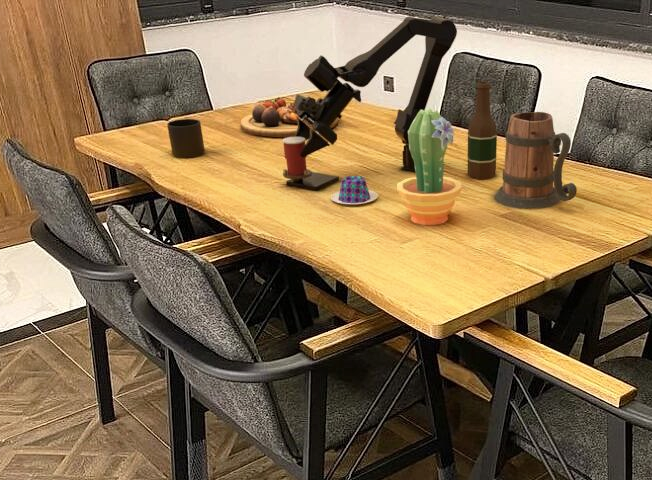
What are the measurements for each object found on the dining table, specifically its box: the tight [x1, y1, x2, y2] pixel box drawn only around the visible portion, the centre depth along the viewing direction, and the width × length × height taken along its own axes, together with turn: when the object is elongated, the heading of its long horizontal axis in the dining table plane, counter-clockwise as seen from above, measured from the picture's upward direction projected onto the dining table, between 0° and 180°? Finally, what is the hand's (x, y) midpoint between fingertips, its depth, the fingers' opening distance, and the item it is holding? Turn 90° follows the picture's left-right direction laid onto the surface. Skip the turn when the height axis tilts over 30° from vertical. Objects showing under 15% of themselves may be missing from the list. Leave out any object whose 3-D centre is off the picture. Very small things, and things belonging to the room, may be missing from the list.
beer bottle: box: [467, 81, 498, 180], centre depth 220 cm, size 8×8×24 cm
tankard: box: [493, 111, 578, 210], centre depth 203 cm, size 24×17×20 cm
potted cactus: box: [396, 108, 462, 226], centre depth 192 cm, size 15×15×25 cm
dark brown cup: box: [166, 118, 206, 159], centre depth 247 cm, size 9×12×9 cm
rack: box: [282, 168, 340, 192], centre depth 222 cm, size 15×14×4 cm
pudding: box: [330, 175, 379, 205], centre depth 210 cm, size 12×12×5 cm
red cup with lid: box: [282, 136, 308, 175], centre depth 218 cm, size 6×6×9 cm
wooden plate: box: [239, 96, 339, 138], centre depth 273 cm, size 32×32×8 cm
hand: (296, 151), depth 217 cm, fingers open, 9 cm apart
